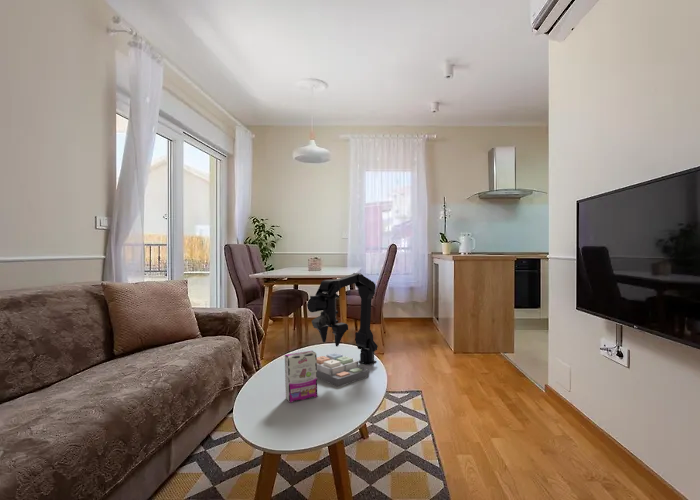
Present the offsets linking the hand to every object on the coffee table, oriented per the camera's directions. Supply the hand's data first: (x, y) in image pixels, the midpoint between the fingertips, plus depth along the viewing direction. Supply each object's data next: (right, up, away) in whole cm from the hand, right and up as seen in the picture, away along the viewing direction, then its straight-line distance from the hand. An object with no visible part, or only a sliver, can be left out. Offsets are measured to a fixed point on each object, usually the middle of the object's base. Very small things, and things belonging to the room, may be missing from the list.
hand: (330, 344), depth 162 cm
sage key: (+6, -9, +1) cm, 11 cm away
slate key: (+2, -9, +7) cm, 11 cm away
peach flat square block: (-4, -9, +2) cm, 10 cm away
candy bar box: (-10, -14, -25) cm, 30 cm away
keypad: (+3, -13, 0) cm, 14 cm away
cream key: (+1, -9, -4) cm, 9 cm away
